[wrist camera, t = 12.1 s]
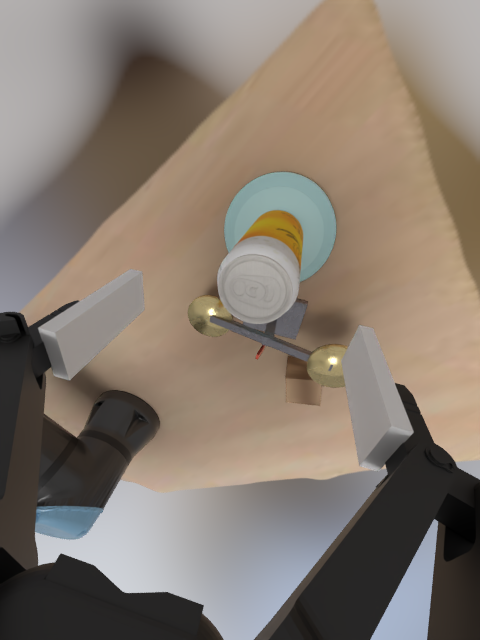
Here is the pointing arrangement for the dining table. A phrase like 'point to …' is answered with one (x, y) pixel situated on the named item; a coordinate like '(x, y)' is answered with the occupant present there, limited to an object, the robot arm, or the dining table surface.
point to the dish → (295, 199)
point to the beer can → (263, 269)
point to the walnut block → (301, 384)
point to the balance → (272, 336)
